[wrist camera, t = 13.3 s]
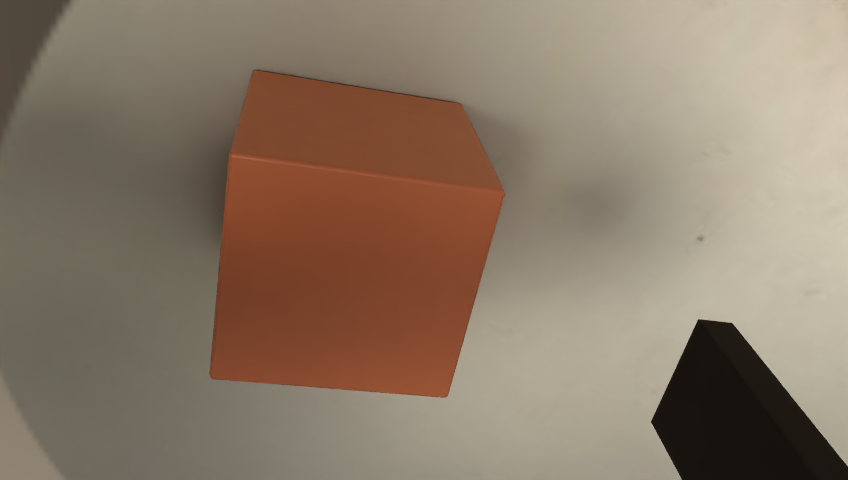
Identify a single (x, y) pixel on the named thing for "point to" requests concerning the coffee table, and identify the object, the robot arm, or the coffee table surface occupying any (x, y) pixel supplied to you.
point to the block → (350, 238)
